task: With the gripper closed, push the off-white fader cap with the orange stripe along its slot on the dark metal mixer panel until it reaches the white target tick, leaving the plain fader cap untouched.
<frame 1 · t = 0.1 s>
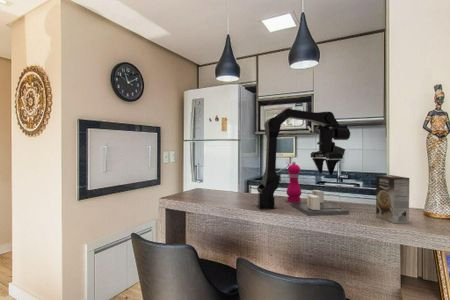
hand: (325, 174, 115), 15 cm above the table, fingers open, 9 cm apart
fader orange: (313, 202, 103), point 4 cm above the table, slide at 0.0 cm
coffee box: (391, 220, 93), on the table
pepper mill: (293, 201, 126), on the table
fader plain: (317, 196, 116), point 4 cm above the table, slide at 0.0 cm
mixer panel: (317, 209, 109), on the table
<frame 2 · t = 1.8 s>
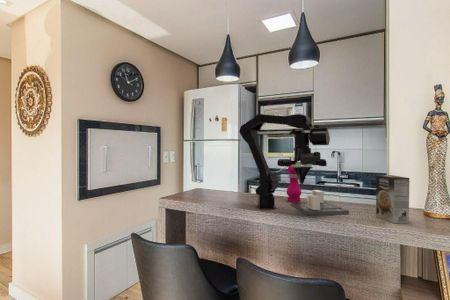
hand: (301, 183, 102), 12 cm above the table, fingers closed
nothing on the table moved.
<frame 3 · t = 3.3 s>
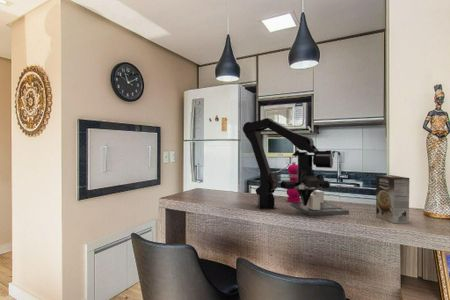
hand: (305, 205, 102), 3 cm above the table, fingers closed
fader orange: (313, 202, 103), point 4 cm above the table, slide at 0.1 cm, touching gripper
everything else where it was.
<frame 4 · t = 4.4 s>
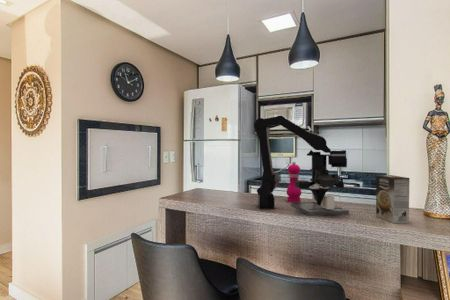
hand: (319, 205, 103), 3 cm above the table, fingers closed
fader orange: (327, 201, 103), point 4 cm above the table, slide at 6.1 cm, touching gripper
everything else where it was.
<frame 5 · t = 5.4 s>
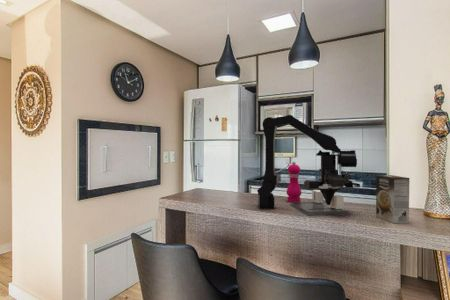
hand: (328, 204, 103), 3 cm above the table, fingers closed
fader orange: (336, 201, 104), point 4 cm above the table, slide at 10.1 cm, touching gripper
everything else where it was.
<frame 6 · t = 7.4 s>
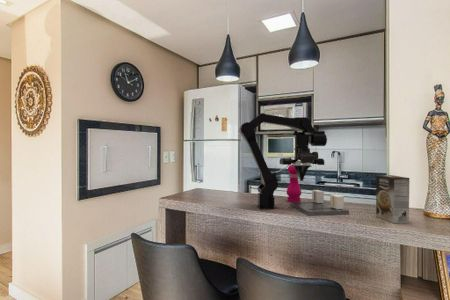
hand: (301, 180, 113), 12 cm above the table, fingers closed
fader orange: (336, 201, 104), point 4 cm above the table, slide at 10.2 cm
everything else where it was.
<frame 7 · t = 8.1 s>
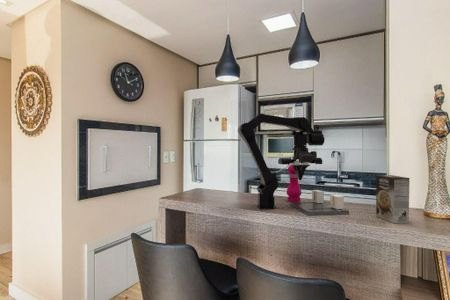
hand: (300, 180, 114), 12 cm above the table, fingers closed
nothing on the table moved.
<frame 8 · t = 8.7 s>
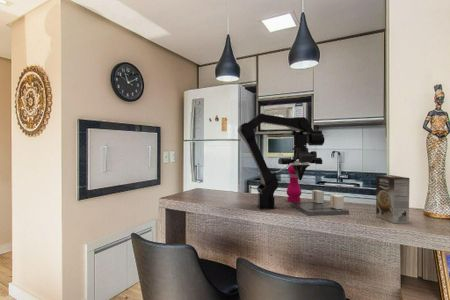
hand: (300, 180, 114), 12 cm above the table, fingers closed
nothing on the table moved.
at the end: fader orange slide at 10.2 cm; fader plain slide at 0.0 cm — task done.
